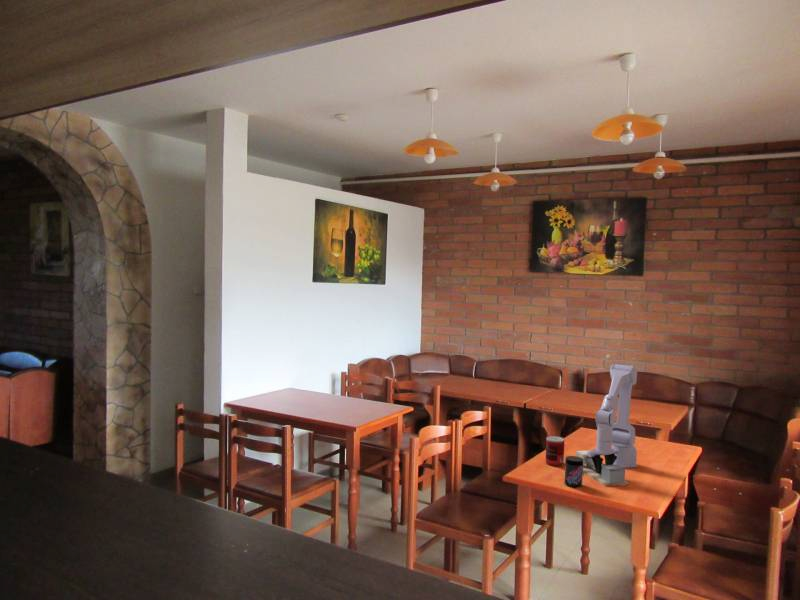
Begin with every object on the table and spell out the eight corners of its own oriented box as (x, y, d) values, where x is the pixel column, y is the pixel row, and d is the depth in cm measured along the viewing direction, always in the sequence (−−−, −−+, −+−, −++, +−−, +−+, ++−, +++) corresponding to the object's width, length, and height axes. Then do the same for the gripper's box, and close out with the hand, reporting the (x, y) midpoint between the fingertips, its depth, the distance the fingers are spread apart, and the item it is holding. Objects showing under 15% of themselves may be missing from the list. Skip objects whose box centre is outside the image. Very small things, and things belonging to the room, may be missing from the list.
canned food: (562, 461, 253) (563, 436, 253) (565, 467, 245) (565, 441, 245) (544, 460, 254) (545, 435, 254) (546, 465, 246) (547, 440, 246)
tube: (582, 464, 245) (582, 455, 244) (590, 464, 246) (591, 454, 245) (609, 480, 226) (609, 470, 226) (618, 479, 227) (618, 469, 227)
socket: (601, 478, 229) (602, 465, 229) (616, 477, 231) (617, 464, 230) (609, 483, 224) (610, 469, 224) (624, 482, 225) (625, 468, 225)
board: (569, 464, 249) (569, 462, 249) (590, 463, 251) (590, 460, 251) (606, 486, 223) (606, 483, 223) (628, 484, 226) (628, 482, 226)
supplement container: (561, 485, 223) (562, 458, 223) (568, 480, 229) (569, 454, 228) (578, 489, 219) (579, 462, 219) (584, 484, 225) (585, 458, 224)
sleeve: (575, 463, 247) (576, 451, 247) (589, 462, 249) (590, 450, 249) (582, 467, 242) (582, 454, 242) (596, 466, 244) (596, 453, 244)
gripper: (612, 435, 239) (610, 467, 240) (583, 438, 234) (581, 471, 235) (624, 440, 233) (622, 473, 233) (594, 443, 228) (593, 476, 228)
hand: (603, 472), depth 234 cm, fingers closed on tube, 4 cm apart
